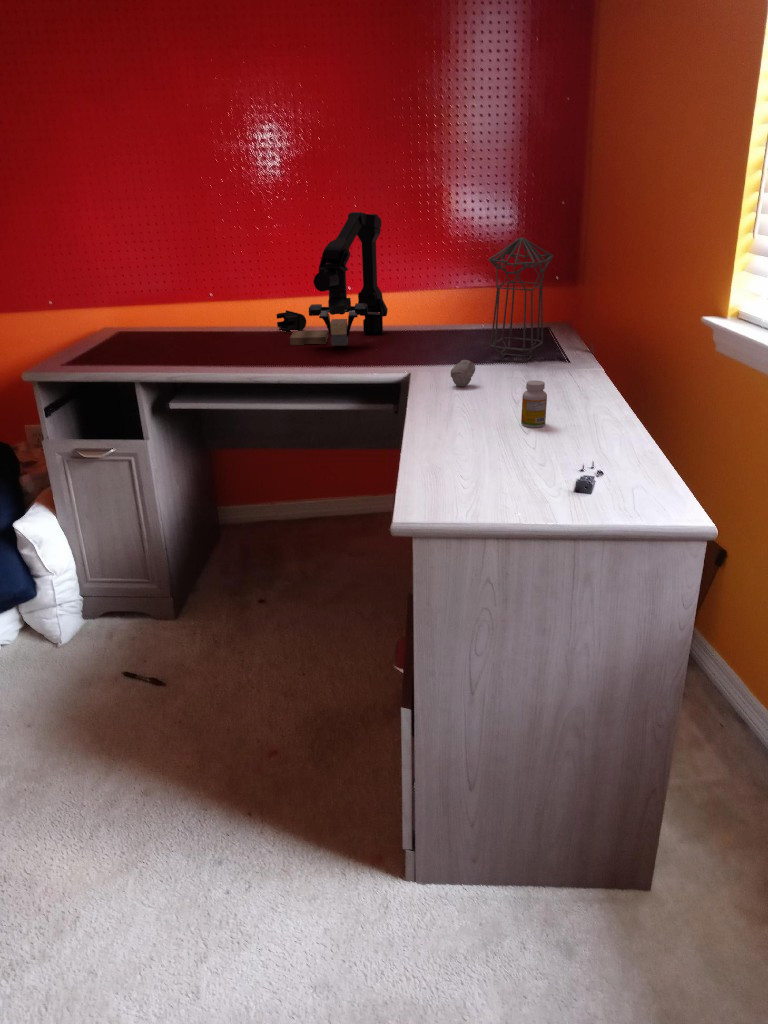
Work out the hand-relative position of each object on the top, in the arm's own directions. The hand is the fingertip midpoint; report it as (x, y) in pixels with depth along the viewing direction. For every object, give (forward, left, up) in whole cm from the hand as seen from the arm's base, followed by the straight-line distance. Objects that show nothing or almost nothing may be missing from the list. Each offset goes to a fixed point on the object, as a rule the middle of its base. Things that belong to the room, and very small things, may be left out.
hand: (339, 336), depth 256 cm
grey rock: (-35, +52, -4) cm, 63 cm away
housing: (0, 0, -2) cm, 2 cm away
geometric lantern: (-54, +22, -4) cm, 58 cm away
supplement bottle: (-48, +87, -4) cm, 99 cm away
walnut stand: (+11, -12, -4) cm, 17 cm away
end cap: (+19, -32, -4) cm, 37 cm away
